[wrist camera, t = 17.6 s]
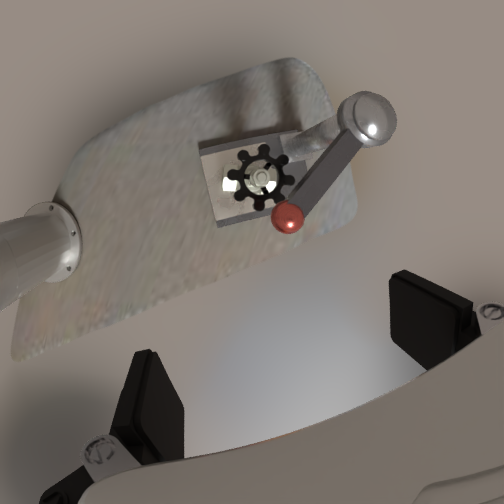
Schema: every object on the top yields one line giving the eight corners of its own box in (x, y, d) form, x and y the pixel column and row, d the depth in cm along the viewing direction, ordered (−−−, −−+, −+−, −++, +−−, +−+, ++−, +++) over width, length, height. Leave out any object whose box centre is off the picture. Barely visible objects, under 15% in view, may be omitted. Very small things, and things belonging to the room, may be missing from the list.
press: (217, 226, 41) (227, 274, 19) (199, 150, 38) (186, 108, 16) (317, 202, 42) (416, 222, 20) (301, 129, 39) (389, 84, 18)
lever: (353, 87, 20) (367, 79, 18) (389, 124, 21) (405, 120, 19) (250, 209, 21) (255, 212, 19) (294, 245, 22) (304, 252, 20)
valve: (224, 153, 38) (230, 140, 26) (272, 158, 39) (298, 148, 27) (219, 202, 39) (224, 209, 27) (268, 206, 40) (292, 214, 28)
